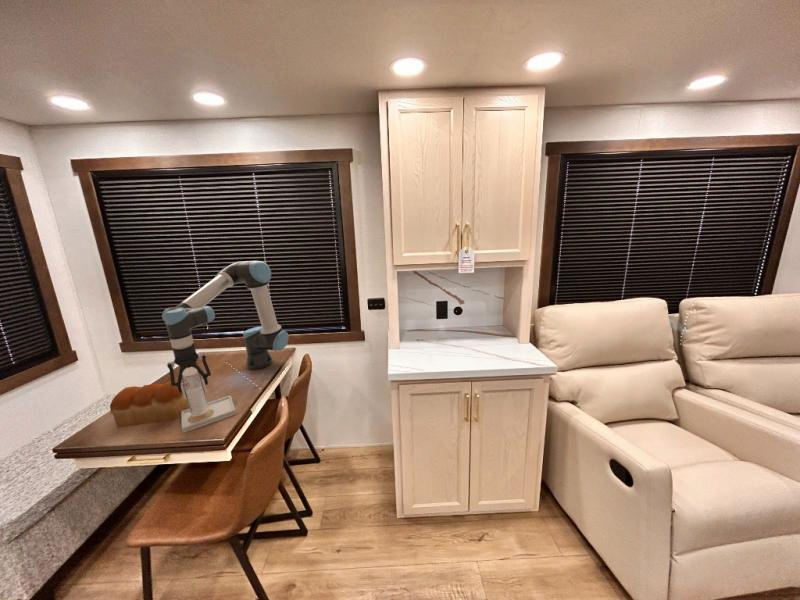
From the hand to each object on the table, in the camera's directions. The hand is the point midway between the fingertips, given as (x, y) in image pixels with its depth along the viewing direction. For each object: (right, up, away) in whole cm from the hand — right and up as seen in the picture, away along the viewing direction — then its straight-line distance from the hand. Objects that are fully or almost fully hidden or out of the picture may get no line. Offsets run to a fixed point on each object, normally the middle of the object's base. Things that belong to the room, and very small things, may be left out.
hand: (195, 394), depth 133 cm
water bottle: (+1, -9, +2) cm, 9 cm away
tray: (+3, -11, +5) cm, 12 cm away
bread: (-24, -12, +8) cm, 28 cm away
